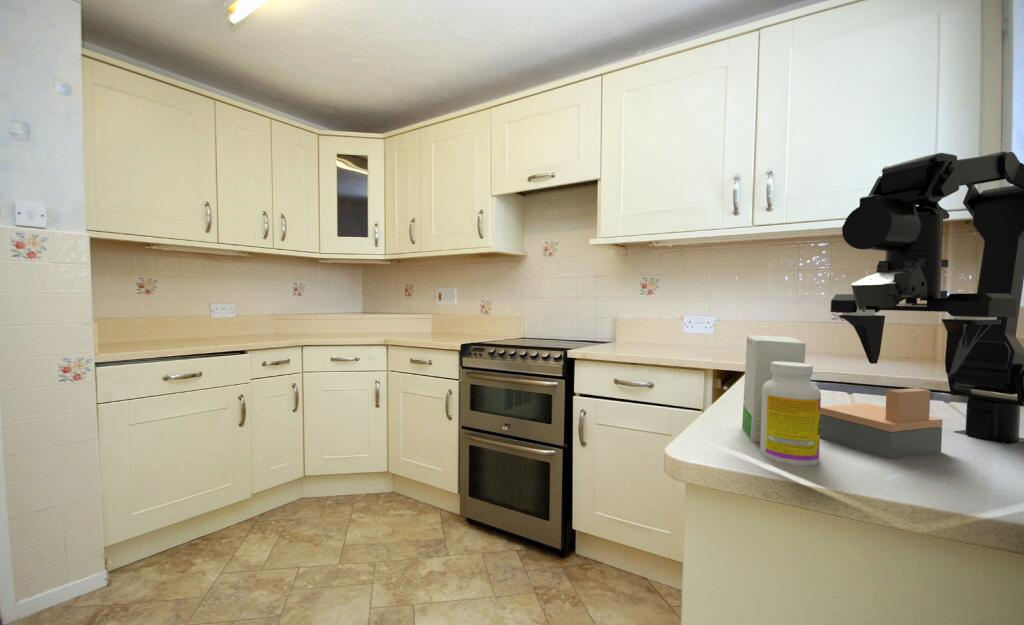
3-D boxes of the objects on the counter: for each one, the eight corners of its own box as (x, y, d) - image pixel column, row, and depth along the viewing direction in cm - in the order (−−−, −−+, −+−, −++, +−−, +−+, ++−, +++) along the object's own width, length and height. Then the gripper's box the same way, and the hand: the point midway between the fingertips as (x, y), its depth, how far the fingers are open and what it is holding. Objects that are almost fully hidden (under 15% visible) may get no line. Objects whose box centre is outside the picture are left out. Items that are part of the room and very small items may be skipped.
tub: (865, 435, 72) (866, 409, 72) (940, 456, 62) (942, 427, 62) (817, 440, 69) (818, 414, 69) (889, 463, 59) (890, 432, 59)
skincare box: (741, 430, 74) (744, 334, 73) (787, 434, 72) (790, 336, 71) (751, 446, 66) (754, 338, 65) (803, 451, 64) (807, 340, 63)
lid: (866, 409, 72) (867, 377, 72) (942, 426, 62) (943, 390, 62) (818, 413, 69) (819, 380, 69) (890, 432, 59) (892, 394, 59)
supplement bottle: (828, 472, 56) (832, 368, 56) (770, 467, 57) (773, 366, 57) (805, 454, 63) (808, 361, 62) (753, 450, 64) (755, 359, 64)
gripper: (804, 256, 68) (801, 361, 68) (959, 242, 50) (954, 383, 50) (858, 259, 71) (855, 358, 72) (1021, 246, 53) (1016, 378, 54)
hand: (909, 368), depth 62 cm, fingers open, 9 cm apart
